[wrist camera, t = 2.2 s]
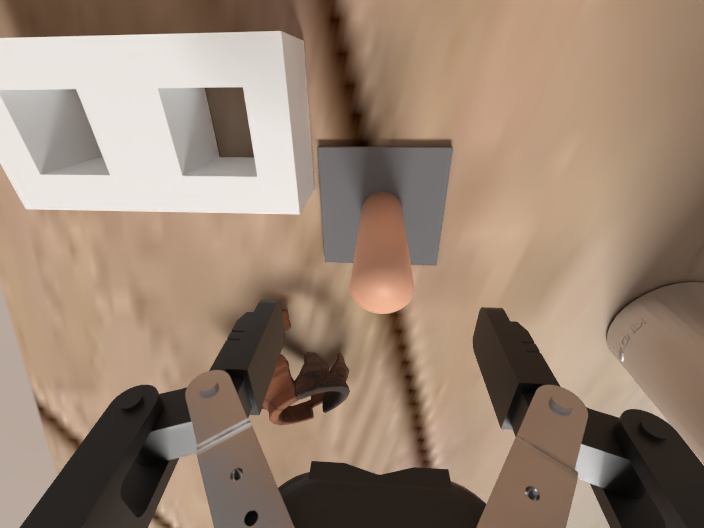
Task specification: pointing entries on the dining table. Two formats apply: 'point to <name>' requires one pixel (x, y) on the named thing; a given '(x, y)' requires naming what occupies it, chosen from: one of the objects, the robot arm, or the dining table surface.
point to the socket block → (154, 122)
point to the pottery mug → (305, 387)
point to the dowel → (382, 257)
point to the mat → (383, 176)
